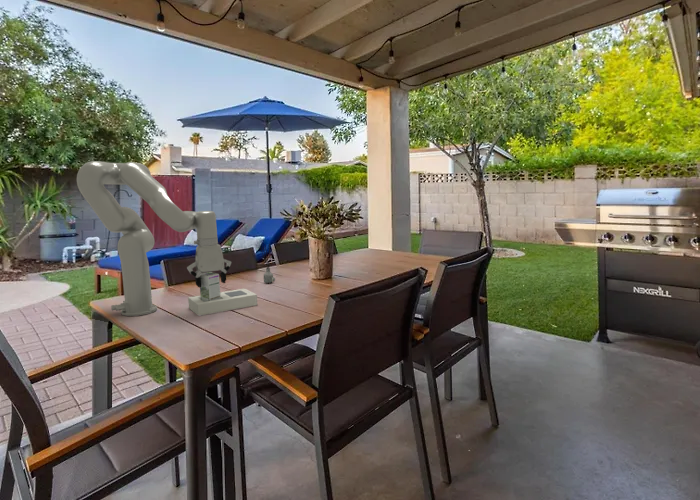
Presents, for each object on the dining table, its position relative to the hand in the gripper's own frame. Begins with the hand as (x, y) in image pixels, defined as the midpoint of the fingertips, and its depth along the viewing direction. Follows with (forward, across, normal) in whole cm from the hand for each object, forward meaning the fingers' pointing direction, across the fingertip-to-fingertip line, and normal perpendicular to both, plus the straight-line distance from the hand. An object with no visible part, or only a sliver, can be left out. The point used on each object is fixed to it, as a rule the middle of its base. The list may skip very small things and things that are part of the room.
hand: (211, 284), depth 166 cm
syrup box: (+10, -1, 0) cm, 10 cm away
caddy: (+10, +4, 0) cm, 11 cm away
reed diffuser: (+11, +37, +29) cm, 48 cm away
